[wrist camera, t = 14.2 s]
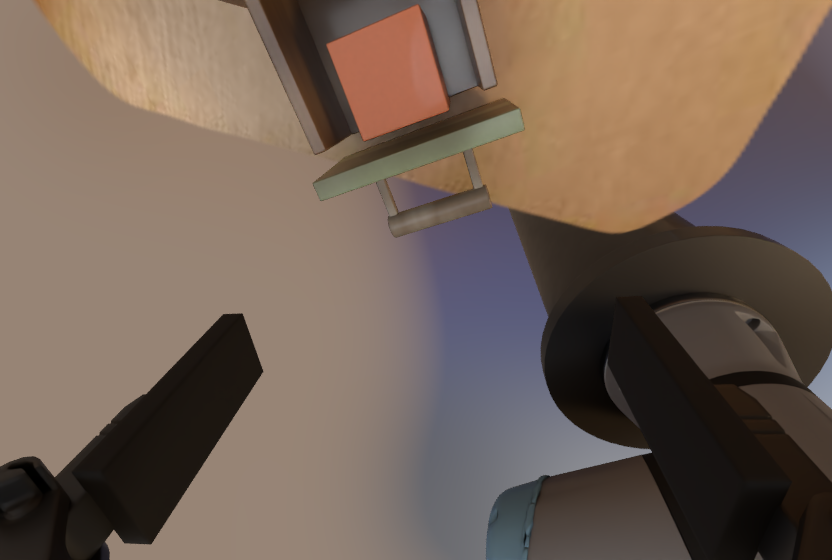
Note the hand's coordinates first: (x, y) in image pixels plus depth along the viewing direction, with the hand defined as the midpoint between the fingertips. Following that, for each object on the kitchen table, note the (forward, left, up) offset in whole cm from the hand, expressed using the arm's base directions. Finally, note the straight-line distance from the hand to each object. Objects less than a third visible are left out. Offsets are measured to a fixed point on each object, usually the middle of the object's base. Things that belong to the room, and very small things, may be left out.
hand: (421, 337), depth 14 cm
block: (+9, 0, -19) cm, 20 cm away
